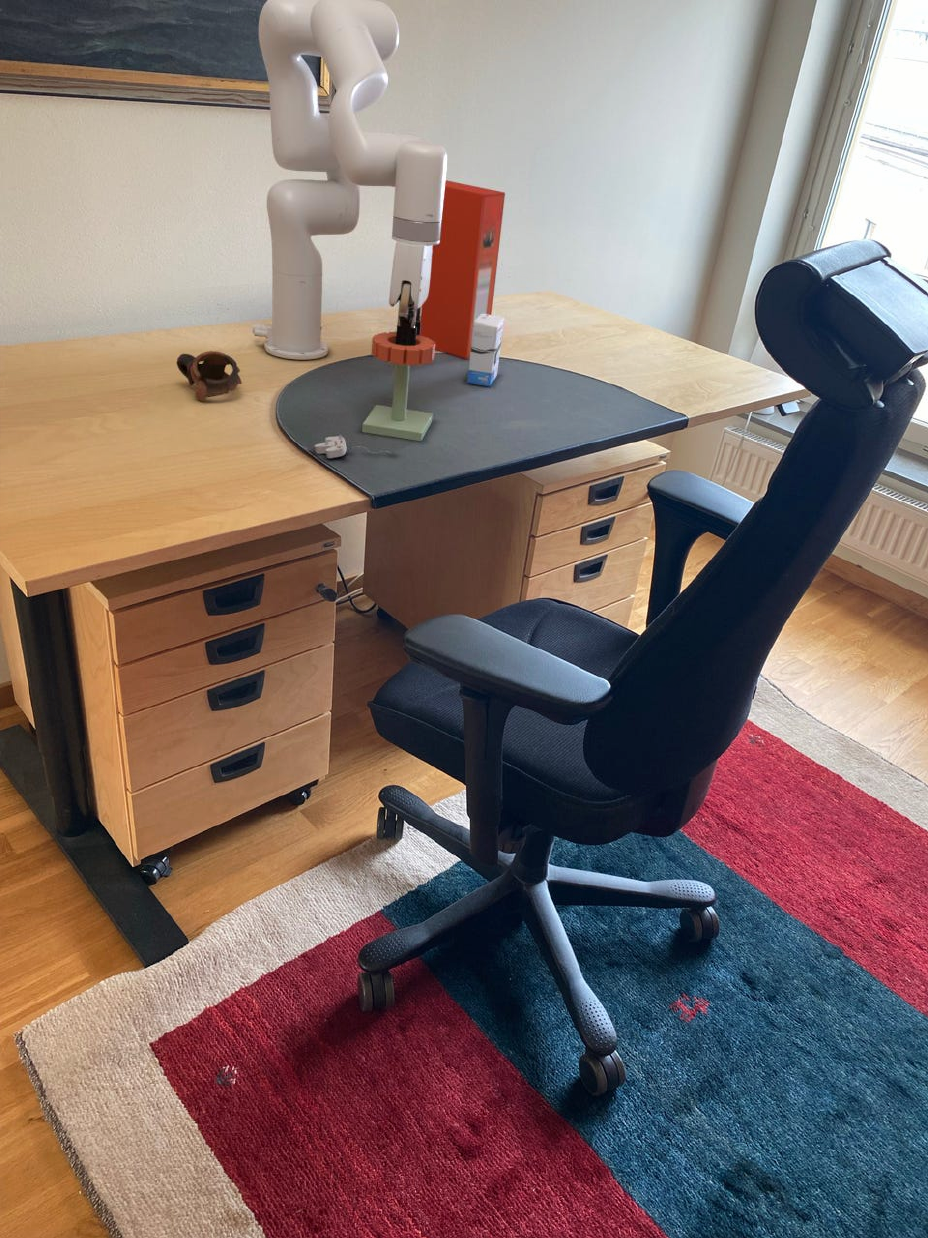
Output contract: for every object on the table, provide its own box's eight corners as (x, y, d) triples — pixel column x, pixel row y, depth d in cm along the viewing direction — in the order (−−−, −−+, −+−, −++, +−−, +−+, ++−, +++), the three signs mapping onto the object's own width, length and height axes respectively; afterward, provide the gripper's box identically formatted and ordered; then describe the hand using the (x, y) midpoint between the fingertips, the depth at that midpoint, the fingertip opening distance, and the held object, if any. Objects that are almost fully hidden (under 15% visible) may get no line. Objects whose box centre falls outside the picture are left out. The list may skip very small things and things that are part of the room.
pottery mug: (250, 390, 168) (251, 358, 161) (225, 427, 164) (225, 395, 156) (188, 363, 168) (186, 329, 161) (161, 398, 163) (159, 366, 156)
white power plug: (310, 447, 148) (310, 431, 146) (378, 443, 153) (379, 427, 151) (322, 461, 144) (322, 445, 142) (392, 456, 149) (393, 440, 147)
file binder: (465, 359, 197) (483, 194, 180) (400, 339, 205) (412, 179, 188) (486, 353, 203) (506, 192, 186) (423, 333, 211) (436, 177, 194)
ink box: (490, 387, 183) (498, 326, 177) (465, 383, 184) (472, 322, 177) (497, 375, 190) (505, 316, 184) (473, 371, 191) (480, 312, 185)
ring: (365, 359, 150) (366, 344, 148) (379, 342, 158) (380, 328, 157) (427, 368, 149) (428, 353, 148) (438, 351, 158) (439, 337, 156)
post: (361, 432, 156) (365, 357, 149) (375, 412, 164) (380, 341, 158) (421, 441, 155) (427, 366, 149) (432, 421, 164) (438, 349, 157)
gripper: (403, 219, 154) (395, 332, 164) (381, 235, 140) (373, 357, 150) (448, 225, 154) (438, 338, 163) (430, 242, 140) (420, 365, 149)
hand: (407, 346), depth 156 cm, fingers closed on ring, 2 cm apart
